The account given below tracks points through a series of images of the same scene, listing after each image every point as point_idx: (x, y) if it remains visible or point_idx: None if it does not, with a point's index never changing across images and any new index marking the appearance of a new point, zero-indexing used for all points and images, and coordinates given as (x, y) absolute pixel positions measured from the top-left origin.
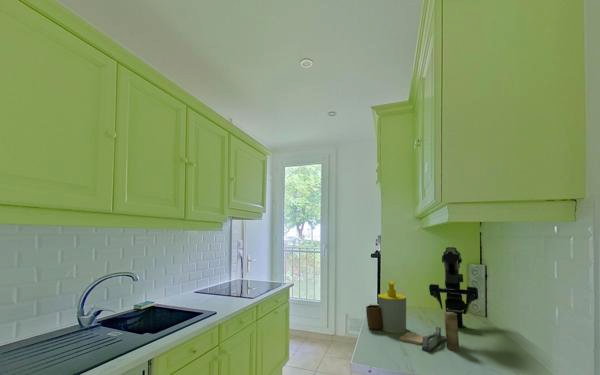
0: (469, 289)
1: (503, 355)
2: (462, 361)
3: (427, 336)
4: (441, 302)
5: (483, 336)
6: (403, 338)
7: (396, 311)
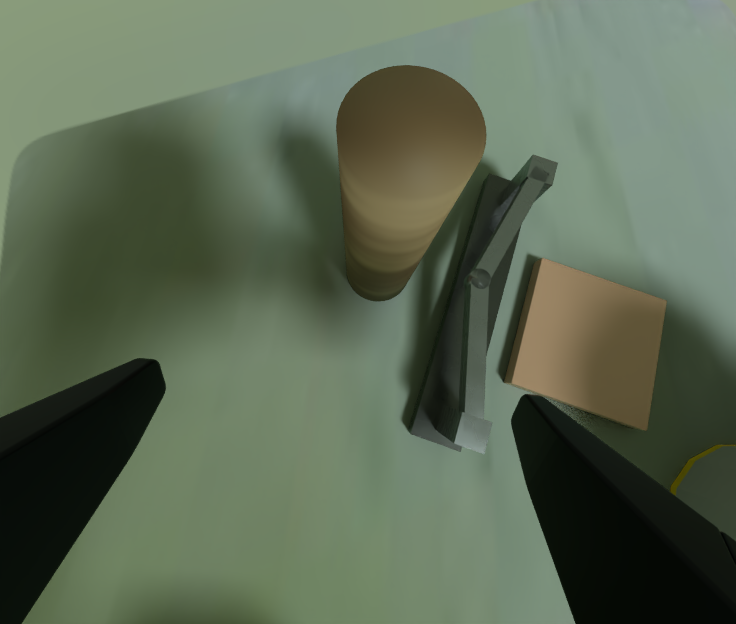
0: None
1: (137, 256)
2: None
3: (531, 185)
4: (598, 466)
5: (139, 610)
6: (642, 292)
7: None
